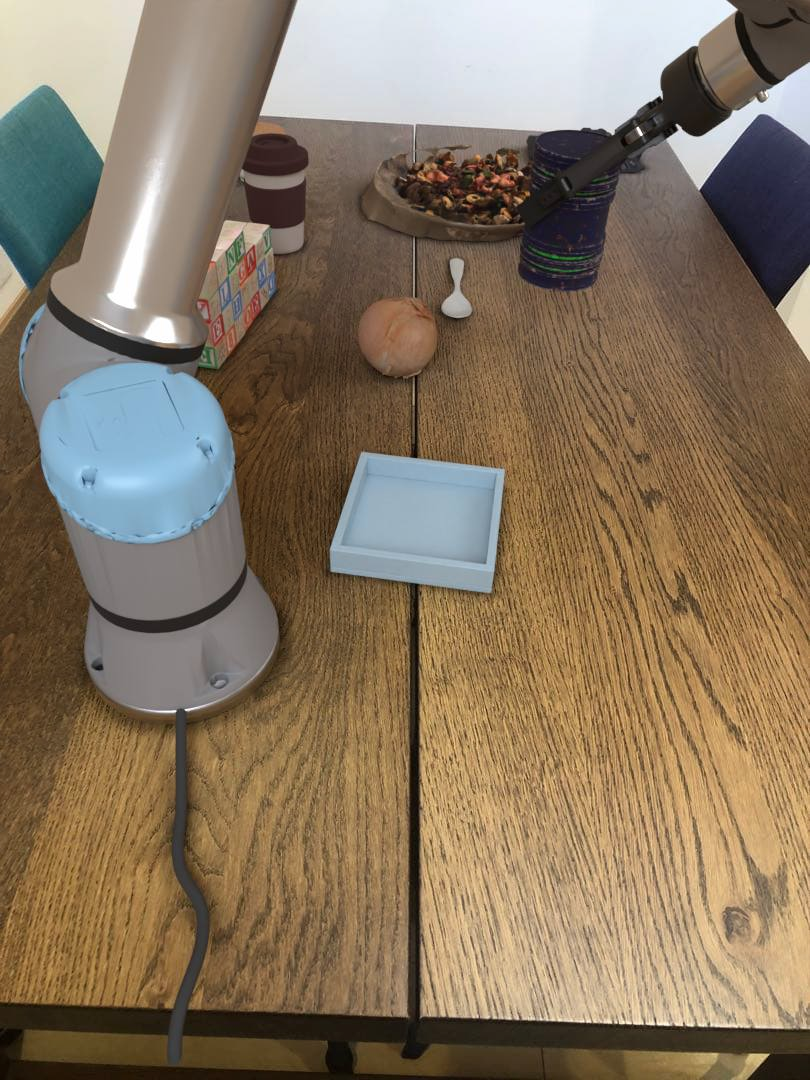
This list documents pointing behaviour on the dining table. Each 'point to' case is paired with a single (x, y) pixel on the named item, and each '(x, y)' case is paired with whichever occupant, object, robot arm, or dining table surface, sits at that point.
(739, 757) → the dining table surface
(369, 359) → the onion
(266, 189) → the coffee cup
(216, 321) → the stack of blocks
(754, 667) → the dining table surface
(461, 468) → the tray
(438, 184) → the food dish
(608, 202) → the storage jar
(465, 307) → the spoon
